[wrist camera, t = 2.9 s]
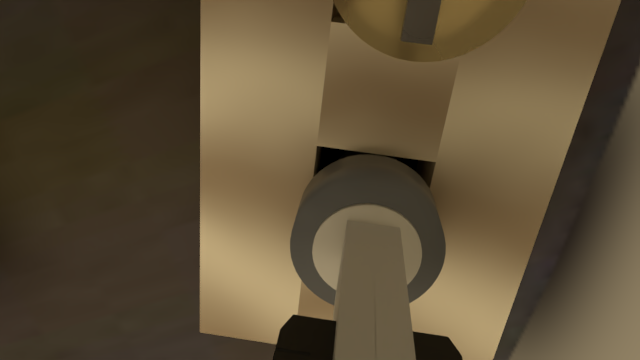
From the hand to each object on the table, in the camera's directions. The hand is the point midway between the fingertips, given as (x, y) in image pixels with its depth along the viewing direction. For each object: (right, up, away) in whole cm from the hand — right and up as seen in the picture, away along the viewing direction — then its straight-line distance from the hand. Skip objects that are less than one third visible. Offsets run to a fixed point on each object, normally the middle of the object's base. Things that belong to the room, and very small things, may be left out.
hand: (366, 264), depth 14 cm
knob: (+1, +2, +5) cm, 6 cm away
